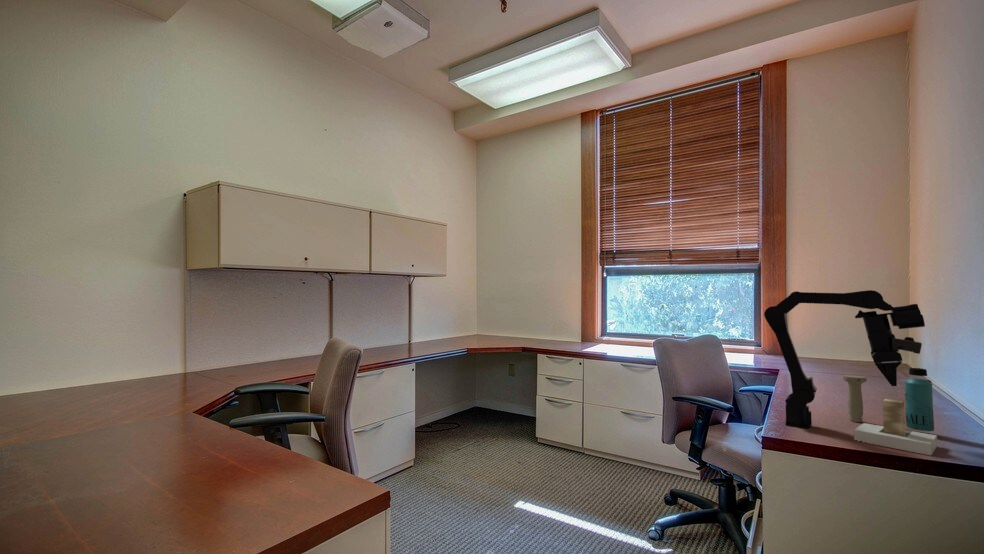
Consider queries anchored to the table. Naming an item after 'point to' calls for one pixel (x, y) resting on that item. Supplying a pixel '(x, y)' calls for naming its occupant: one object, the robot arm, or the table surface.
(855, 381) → the handle
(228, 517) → the table surface
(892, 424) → the plug
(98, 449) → the table surface
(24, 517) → the table surface
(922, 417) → the beverage bottle
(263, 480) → the table surface
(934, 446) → the block
